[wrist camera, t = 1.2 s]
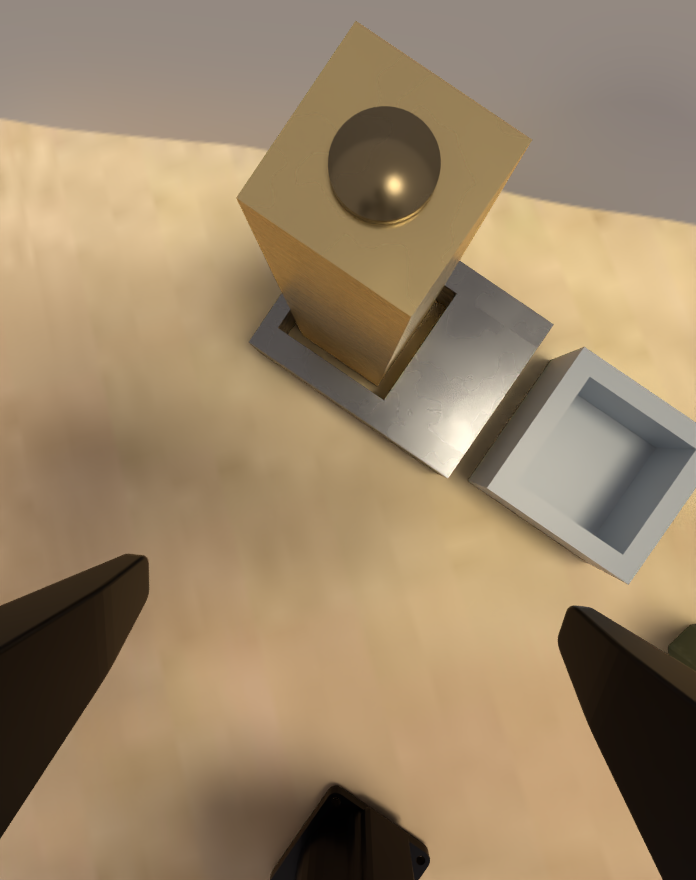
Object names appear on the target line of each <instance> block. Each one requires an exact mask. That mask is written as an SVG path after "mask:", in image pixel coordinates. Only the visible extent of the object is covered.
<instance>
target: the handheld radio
mask: <svg viewBox="0 0 696 880" xmlns="http://www.w3.org/2000/svg"><path fill="white" fill-rule="evenodd" d="M668 653H669V655H670V656H671V657H673V658H675V659H676V660H678V661H680V662H681V663H683V664H684V665H686V666H688V667H689V668H691V669H693V670H694V671H696V624H693V625H690V626H689V627H688V628H686V629H685V630H684V631H683V632H682V633H681V634H680V635H679V636H678V637H677V638H676V639H675V640H674V641H673V642H672V643H671V644H670V645H669V647H668Z"/></svg>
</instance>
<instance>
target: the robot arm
mask: <svg viewBox="0 0 696 880" xmlns="http://www.w3.org/2000/svg"><path fill="white" fill-rule="evenodd" d="M148 594H149V563H148V559H147V557H145V556H144V555H135V554H124V555H122V556H119V557H117V558H115V559H112V560H110V561H107V562H105V563H102V564H100V565H98V566H95V567H93V568H90V569H88V570H86V571H83V572H81V573H78V574H76V575H73V576H71V577H69V578H66V579H64V580H61V581H59V582H57V583H54V584H52V585H49V586H47V587H45V588H42V589H40V590H37V591H35V592H32V593H30V594H28V595H25V596H23V597H20V598H18V599H16V600H13V601H11V602H8V603H6V604H3V605H1V606H0V838H1V837H2V835H3V834H4V832H5V831H6V829H7V828H8V826H9V825H10V823H11V821H12V820H13V818H14V817H15V815H16V814H17V812H18V811H19V809H20V808H21V806H22V805H23V803H24V802H25V800H26V798H27V797H28V795H29V794H30V792H31V791H32V789H33V788H34V786H35V785H36V783H37V782H38V780H39V779H40V777H41V776H42V774H43V772H44V771H45V769H46V768H47V766H48V765H49V763H50V762H51V760H52V759H53V757H54V756H55V754H56V753H57V751H58V749H59V748H60V746H61V745H62V743H63V742H64V740H65V739H66V737H67V736H68V734H69V733H70V731H71V730H72V728H73V726H74V725H75V723H76V722H77V720H78V719H79V717H80V716H81V714H82V713H83V711H84V710H85V708H86V707H87V705H88V704H89V702H90V700H91V699H92V697H93V696H94V694H95V693H96V691H97V690H98V688H99V687H100V685H101V684H102V682H103V680H104V679H105V677H106V675H107V674H108V672H109V670H110V669H111V667H112V665H113V663H114V661H115V660H116V658H117V656H118V654H119V652H120V650H121V648H122V646H123V644H124V642H125V641H126V639H127V637H128V635H129V633H130V631H131V629H132V627H133V625H134V623H135V621H136V620H137V618H138V616H139V614H140V612H141V610H142V608H143V606H144V604H145V602H146V600H147V597H148ZM558 646H559V650H560V653H561V655H562V658H563V660H564V663H565V666H566V668H567V671H568V673H569V676H570V679H571V681H572V684H573V687H574V689H575V692H576V694H577V697H578V700H579V702H580V705H581V708H582V710H583V713H584V715H585V718H586V720H587V722H588V725H589V727H590V729H591V732H592V734H593V736H594V738H595V740H596V742H597V744H598V747H599V749H600V751H601V753H602V755H603V757H604V759H605V761H606V763H607V765H608V767H609V769H610V771H611V773H612V776H613V778H614V780H615V782H616V784H617V786H618V788H619V790H620V792H621V794H622V796H623V798H624V800H625V803H626V805H627V807H628V809H629V811H630V813H631V815H632V817H633V819H634V821H635V823H636V825H637V827H638V829H639V832H640V834H641V836H642V838H643V840H644V842H645V844H646V846H647V848H648V850H649V852H650V854H651V856H652V859H653V861H654V863H655V865H656V867H657V869H658V871H659V873H660V875H661V877H662V879H663V880H696V671H694V670H693V669H691V668H689V667H688V666H686V665H684V664H683V663H681V662H680V661H678V660H676V659H675V658H673V657H671V656H670V655H668V654H666V653H665V652H663V651H662V650H660V649H658V648H657V647H655V646H653V645H652V644H650V643H648V642H647V641H645V640H644V639H642V638H640V637H639V636H637V635H635V634H634V633H632V632H630V631H629V630H627V629H625V628H624V627H622V626H621V625H619V624H617V623H616V622H614V621H612V620H611V619H609V618H607V617H606V616H604V615H603V614H601V613H599V612H598V611H596V610H594V609H592V608H590V607H583V606H570V607H569V608H568V609H567V611H566V614H565V617H564V620H563V623H562V626H561V629H560V632H559V635H558ZM334 797H337V798H339V799H337V800H335V799H333V798H334ZM418 856H422V857H418ZM429 863H430V857H429V852H428V849H427V847H426V846H425V845H424V844H422V843H421V842H419V841H418V840H417V839H415V838H414V837H412V836H411V835H409V834H408V833H406V832H405V831H404V830H402V829H401V828H399V827H398V826H397V825H395V824H394V823H392V822H391V821H389V820H388V819H386V818H385V817H384V816H382V815H381V814H379V813H378V812H376V811H375V810H373V809H372V808H370V807H369V806H367V805H366V804H364V803H363V802H362V801H360V800H359V799H357V798H356V797H354V796H353V795H351V794H350V793H349V792H347V791H346V790H344V789H343V788H341V787H339V786H333V787H331V788H330V789H329V790H328V791H327V793H326V794H325V796H324V797H323V799H322V800H321V802H320V803H319V804H318V806H317V807H316V809H315V810H314V812H313V813H312V815H311V816H310V817H309V819H308V820H307V822H306V823H305V825H304V826H303V828H302V829H301V830H300V832H299V833H298V835H297V836H296V838H295V839H294V841H293V842H292V843H291V845H290V846H289V848H288V849H287V851H286V852H285V854H284V855H283V856H282V858H281V859H280V861H279V862H278V864H277V865H276V867H275V868H274V870H273V871H272V873H271V876H270V880H419V879H420V877H421V876H422V874H423V873H424V871H425V870H426V868H427V867H428V865H429Z"/></svg>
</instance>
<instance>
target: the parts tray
mask: <svg viewBox="0 0 696 880" xmlns="http://www.w3.org/2000/svg"><path fill="white" fill-rule="evenodd" d="M468 481H469V482H470V483H472V484H473V485H474V486H476V487H477V488H479V489H480V490H482V491H483V492H485V493H486V494H488V495H489V496H491V497H492V498H494V499H495V500H496V501H498V502H499V503H501V504H502V505H504V506H505V507H507V508H508V509H510V510H511V511H513V512H514V513H516V514H517V515H518V516H520V517H521V518H523V519H524V520H526V521H527V522H529V523H530V524H532V525H533V526H535V527H536V528H537V529H539V530H540V531H542V532H543V533H545V534H546V535H548V536H549V537H551V538H552V539H554V540H555V541H557V542H558V543H559V544H561V545H562V546H564V547H565V548H567V549H568V550H570V551H571V552H573V553H574V554H576V555H577V556H578V557H580V558H581V559H583V560H584V561H586V562H587V563H589V564H591V565H592V566H594V567H596V568H598V569H600V570H602V571H604V572H606V573H608V574H609V575H611V576H613V577H615V578H617V579H619V580H621V581H623V582H625V583H626V584H628V585H629V583H630V582H631V580H632V579H633V577H634V576H635V575H636V573H637V572H638V570H639V569H640V567H641V566H642V565H643V563H644V562H645V560H646V559H647V557H648V556H649V555H650V553H651V552H652V550H653V549H654V547H655V546H656V544H657V543H658V542H659V540H660V539H661V537H662V536H663V534H664V533H665V532H666V530H667V529H668V527H669V526H670V524H671V523H672V521H673V520H674V519H675V517H676V516H677V514H678V513H679V511H680V510H681V509H682V507H683V506H684V504H685V503H686V501H687V500H688V499H689V497H690V496H691V494H692V493H693V491H694V490H695V488H696V422H694V421H693V420H691V419H690V418H688V417H687V416H686V415H684V414H683V413H681V412H680V411H678V410H677V409H675V408H674V407H672V406H671V405H669V404H668V403H666V402H665V401H663V400H662V399H660V398H659V397H657V396H656V395H655V394H653V393H652V392H650V391H649V390H647V389H646V388H644V387H643V386H641V385H640V384H638V383H637V382H635V381H634V380H632V379H631V378H629V377H628V376H627V375H625V374H624V373H622V372H621V371H619V370H618V369H616V368H615V367H613V366H612V365H610V364H609V363H607V362H606V361H604V360H603V359H601V358H600V357H598V356H597V355H596V354H594V353H593V352H591V351H590V350H588V349H587V348H585V347H583V348H580V349H578V350H575V351H572V352H570V353H567V354H565V355H562V356H560V357H557V358H555V359H552V360H551V361H550V362H549V363H548V365H547V366H546V368H545V369H544V371H543V372H542V374H541V375H540V377H539V378H538V379H537V381H536V382H535V384H534V385H533V387H532V388H531V390H530V391H529V393H528V394H527V395H526V397H525V398H524V400H523V401H522V403H521V404H520V406H519V407H518V408H517V410H516V411H515V413H514V414H513V416H512V417H511V419H510V420H509V422H508V423H507V424H506V426H505V427H504V429H503V430H502V432H501V433H500V435H499V436H498V438H497V439H496V440H495V442H494V443H493V445H492V446H491V448H490V449H489V451H488V452H487V454H486V455H485V456H484V458H483V459H482V461H481V462H480V464H479V465H478V467H477V468H476V469H475V471H474V472H473V474H472V475H471V477H470V478H469V480H468Z"/></svg>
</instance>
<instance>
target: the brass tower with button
mask: <svg viewBox="0 0 696 880" xmlns="http://www.w3.org/2000/svg"><path fill="white" fill-rule="evenodd" d="M531 141H532V139H530V138H529V137H527V136H526V135H524V134H523V133H521V132H520V131H518V130H517V129H515V128H514V127H512V126H511V125H509V124H508V123H506V122H505V121H504V120H502V119H501V118H499V117H498V116H496V115H495V114H493V113H492V112H490V111H488V110H487V109H486V108H484V107H482V106H481V105H480V104H478V103H477V102H475V101H474V100H472V99H471V98H469V97H468V96H466V95H465V94H463V93H462V92H461V91H459V90H457V89H456V88H455V87H453V86H452V85H450V84H449V83H447V82H445V81H444V80H443V79H441V78H440V77H438V76H437V75H435V74H434V73H432V72H431V71H429V70H428V69H426V68H425V67H423V66H422V65H420V64H419V63H417V62H416V61H415V60H413V59H412V58H410V57H409V56H407V55H406V54H404V53H403V52H401V51H400V50H398V49H397V48H395V47H394V46H392V45H391V44H389V43H388V42H386V41H385V40H383V39H382V38H380V37H379V36H377V35H376V34H374V33H373V32H371V31H370V30H369V29H367V28H366V27H364V26H363V25H361V24H360V23H358V22H357V21H356V22H355V23H354V24H353V26H352V27H351V29H350V30H349V32H348V33H347V35H346V36H345V38H344V39H343V41H342V42H341V44H340V45H339V46H338V48H337V49H336V51H335V52H334V54H333V55H332V57H331V58H330V60H329V61H328V63H327V64H326V66H325V67H324V69H323V70H322V72H321V73H320V75H319V76H318V78H317V79H316V81H315V82H314V84H313V85H312V87H311V88H310V89H309V91H308V92H307V94H306V95H305V97H304V98H303V100H302V101H301V103H300V104H299V106H298V107H297V109H296V110H295V112H294V113H293V115H292V116H291V118H290V119H289V121H288V122H287V124H286V125H285V127H284V128H283V130H282V131H281V133H280V134H279V135H278V137H277V139H276V140H275V142H274V143H273V144H272V146H271V147H270V149H269V150H268V152H267V153H266V155H265V156H264V158H263V159H262V161H261V162H260V164H259V165H258V167H257V168H256V169H255V171H254V172H253V174H252V175H251V177H250V178H249V180H248V181H247V183H246V184H245V186H244V187H243V189H242V190H241V192H240V193H239V195H238V196H237V200H238V202H239V205H240V207H241V209H242V211H243V213H244V215H245V217H246V219H247V221H248V223H249V225H250V227H251V229H252V231H253V234H254V236H255V238H256V240H257V242H258V244H259V246H260V248H261V250H262V252H263V254H264V256H265V258H266V260H267V263H268V265H269V267H270V269H271V271H272V273H273V275H274V277H275V279H276V281H277V283H278V285H279V287H280V289H281V292H282V294H283V296H284V298H285V300H286V302H287V304H288V306H289V308H290V310H291V312H292V314H293V316H294V318H295V321H296V323H297V325H298V327H299V329H300V331H301V333H302V335H303V336H305V337H306V338H307V339H309V340H310V341H312V342H313V343H315V344H316V345H318V346H319V347H321V348H322V349H324V350H325V351H327V352H328V353H329V354H331V355H332V356H334V357H335V358H337V359H338V360H340V361H341V362H343V363H344V364H346V365H347V366H349V367H350V368H351V369H353V370H354V371H356V372H357V373H359V374H360V375H362V376H363V377H365V378H366V379H368V380H369V381H371V382H372V383H373V384H375V385H376V386H378V385H379V384H380V382H381V381H382V379H383V378H384V376H385V375H386V373H387V372H388V370H389V369H390V367H391V366H392V364H393V363H394V362H395V360H396V359H397V357H398V356H399V354H400V353H401V351H402V350H403V348H404V347H405V345H406V344H407V343H408V341H409V340H410V338H411V337H412V335H413V334H414V332H415V331H416V329H417V328H418V326H419V325H420V323H421V322H422V321H423V319H424V318H425V316H426V315H427V313H428V312H429V310H430V309H431V307H432V305H433V304H434V302H435V300H436V299H437V297H438V295H439V294H440V292H441V290H442V289H443V287H444V285H445V284H446V282H447V280H448V279H449V277H450V275H451V274H452V272H453V270H454V269H455V267H456V265H457V264H458V262H459V260H460V259H461V257H462V255H463V254H464V252H465V250H466V249H467V247H468V246H469V244H470V242H471V241H472V239H473V237H474V236H475V234H476V232H477V231H478V229H479V227H480V226H481V224H482V222H483V221H484V219H485V217H486V216H487V214H488V212H489V211H490V209H491V207H492V206H493V204H494V202H495V201H496V199H497V197H498V196H499V194H500V192H501V191H502V189H503V187H504V186H505V184H506V182H507V181H508V179H509V177H510V176H511V174H512V172H513V171H514V169H515V167H516V166H517V164H518V163H519V161H520V159H521V158H522V156H523V154H524V153H525V151H526V149H527V148H528V146H529V144H530V142H531Z"/></svg>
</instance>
